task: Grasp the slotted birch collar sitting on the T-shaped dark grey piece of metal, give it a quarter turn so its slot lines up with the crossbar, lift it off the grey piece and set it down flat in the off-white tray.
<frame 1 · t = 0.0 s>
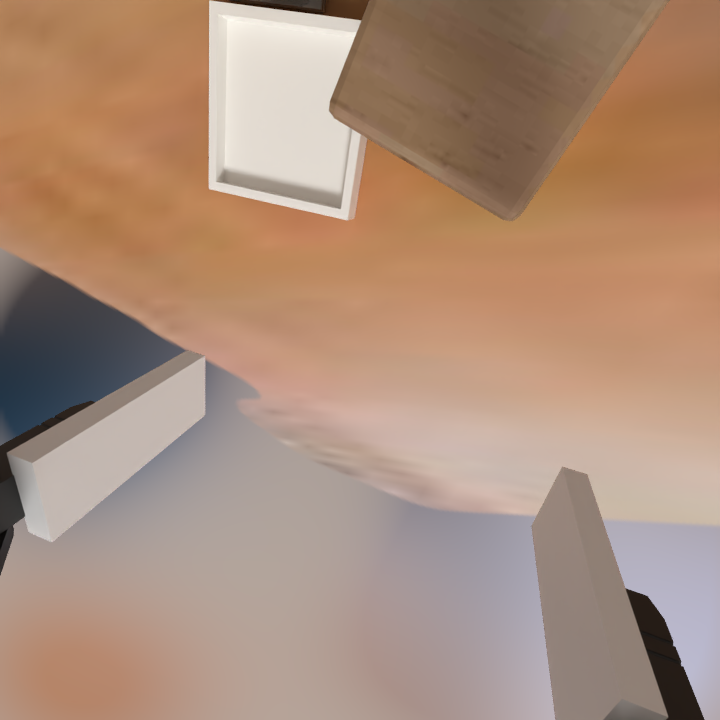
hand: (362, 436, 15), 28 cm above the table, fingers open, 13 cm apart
wooden block: (486, 114, 33), on the table
tray: (293, 119, 37), on the table
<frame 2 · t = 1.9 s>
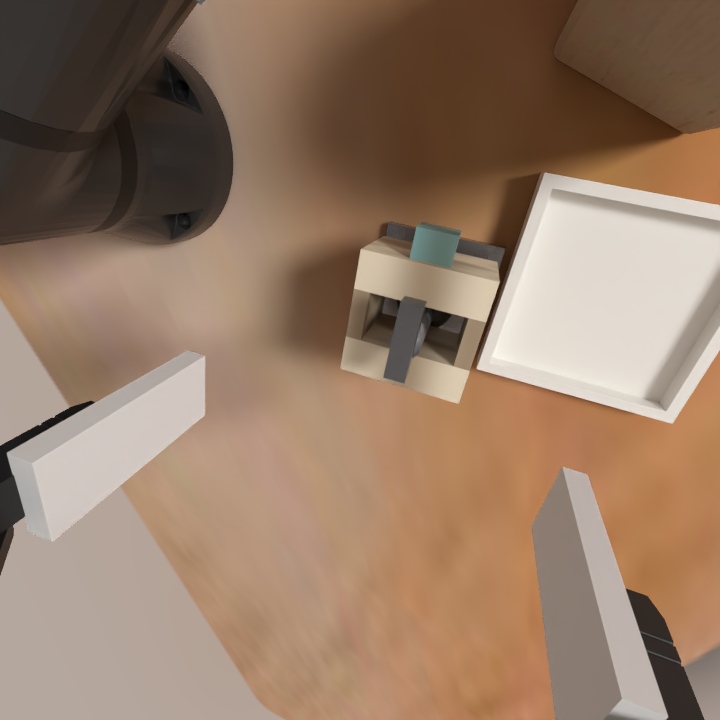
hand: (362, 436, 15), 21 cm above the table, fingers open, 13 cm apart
wooden block: (682, 4, 23), on the table
tray: (605, 298, 30), on the table
collar: (425, 303, 30), point 4 cm above the table, touching grey piece
grey piece: (431, 289, 33), on the table
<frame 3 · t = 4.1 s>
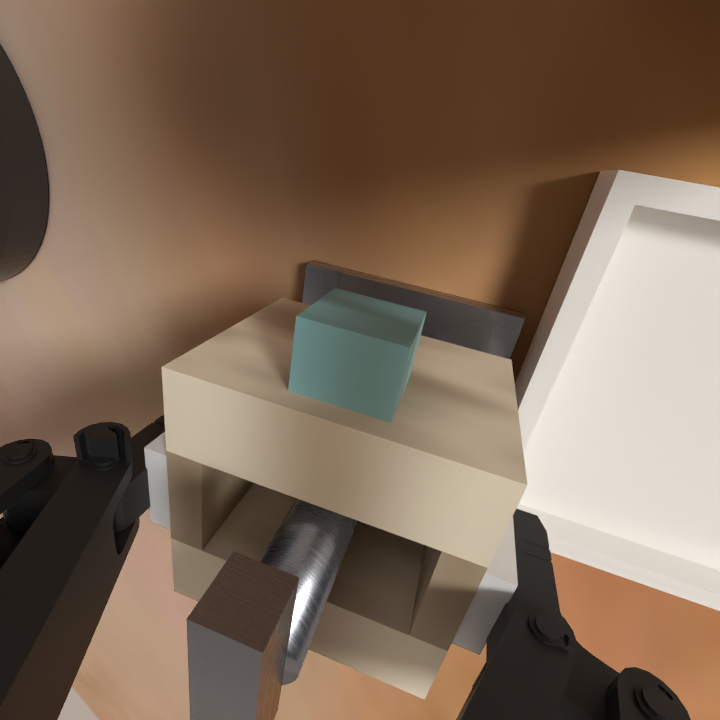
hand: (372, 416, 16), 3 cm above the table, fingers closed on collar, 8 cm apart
tray: (717, 414, 16), on the table
collar: (369, 423, 15), point 4 cm above the table, touching gripper, grey piece
grey piece: (391, 378, 19), on the table
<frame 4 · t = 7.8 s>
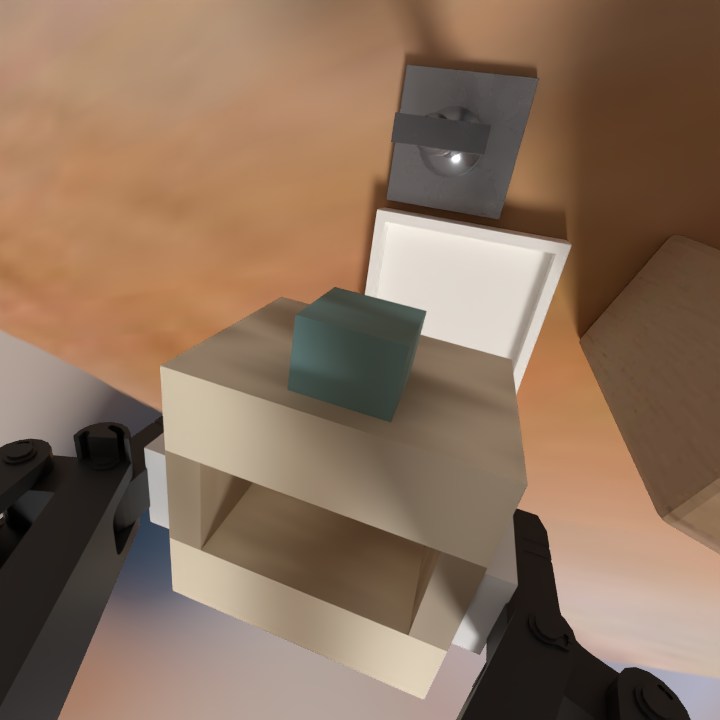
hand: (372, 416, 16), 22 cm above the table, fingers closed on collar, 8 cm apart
wooden block: (677, 321, 31), on the table
tray: (449, 308, 36), on the table
collar: (368, 423, 15), point 23 cm above the table, touching gripper
grey piece: (456, 145, 30), on the table
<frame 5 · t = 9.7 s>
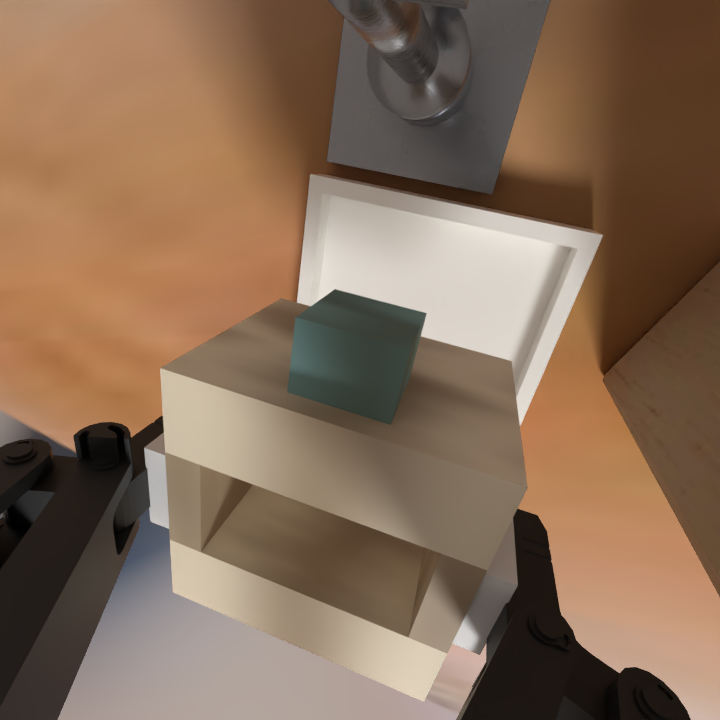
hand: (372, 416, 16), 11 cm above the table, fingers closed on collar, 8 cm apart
tray: (419, 324, 25), on the table
collar: (368, 424, 15), point 11 cm above the table, touching gripper
grey piece: (429, 78, 20), on the table
when the fingers open (2 cm above the table, at t = 11.5 s): collar drops 2 cm, resting on tray.
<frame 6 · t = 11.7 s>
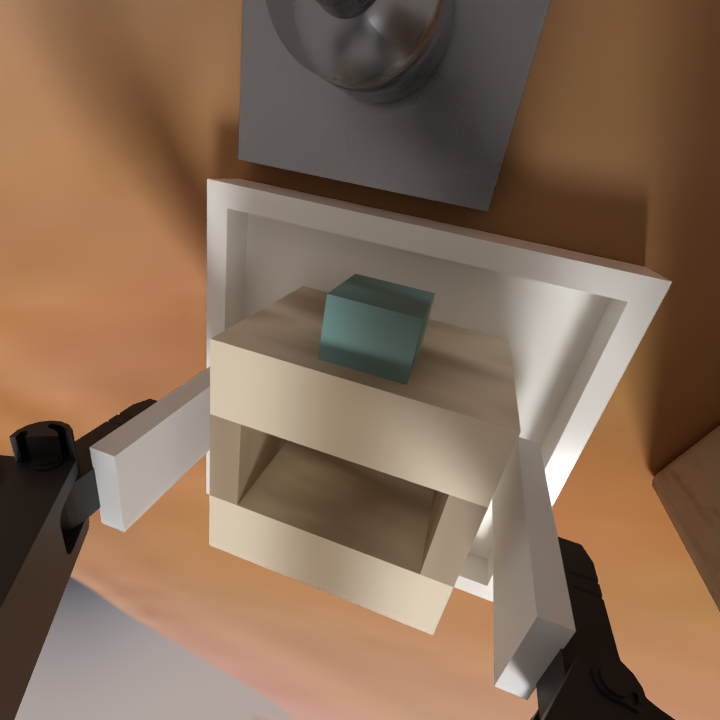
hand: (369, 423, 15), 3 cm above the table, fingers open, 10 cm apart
tray: (384, 392, 18), on the table
collar: (380, 400, 17), point 1 cm above the table, touching tray
grey piece: (387, 27, 12), on the table
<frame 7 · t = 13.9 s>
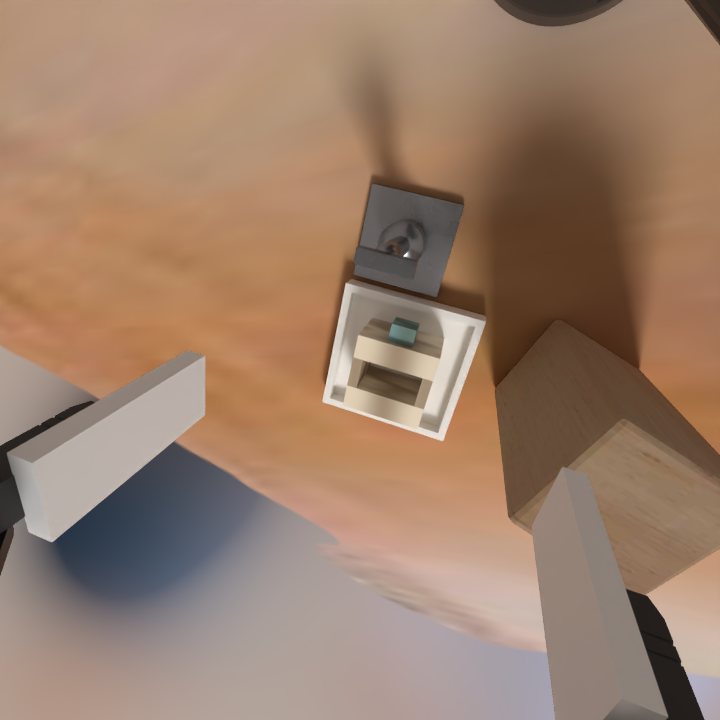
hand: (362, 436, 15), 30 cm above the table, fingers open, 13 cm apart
wooden block: (563, 379, 42), on the table
tray: (399, 358, 46), on the table
collar: (398, 360, 45), point 1 cm above the table, touching tray
grey piece: (406, 241, 41), on the table
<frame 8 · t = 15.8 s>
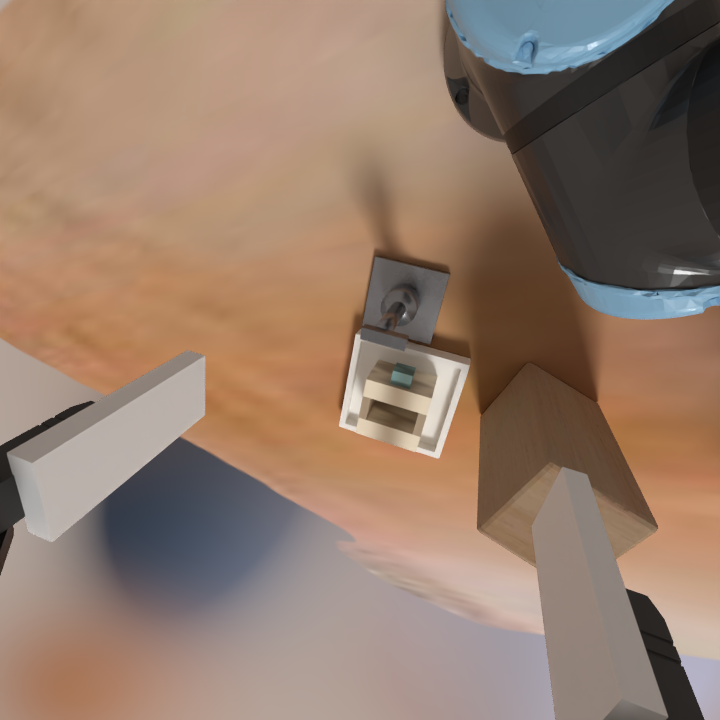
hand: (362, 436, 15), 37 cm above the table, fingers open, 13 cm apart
wooden block: (536, 409, 51), on the table
tray: (402, 390, 55), on the table
collar: (401, 393, 55), point 1 cm above the table, touching tray
grey piece: (404, 300, 50), on the table
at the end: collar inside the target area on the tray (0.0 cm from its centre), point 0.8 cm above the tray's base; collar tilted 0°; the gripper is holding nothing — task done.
